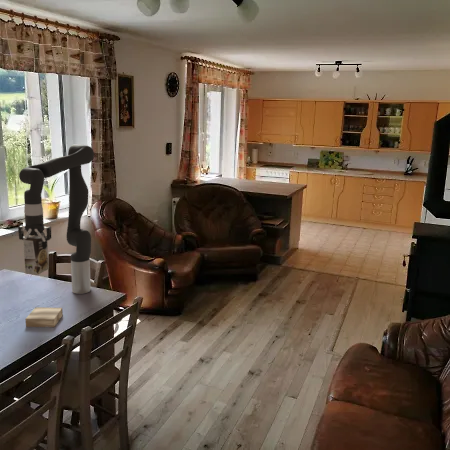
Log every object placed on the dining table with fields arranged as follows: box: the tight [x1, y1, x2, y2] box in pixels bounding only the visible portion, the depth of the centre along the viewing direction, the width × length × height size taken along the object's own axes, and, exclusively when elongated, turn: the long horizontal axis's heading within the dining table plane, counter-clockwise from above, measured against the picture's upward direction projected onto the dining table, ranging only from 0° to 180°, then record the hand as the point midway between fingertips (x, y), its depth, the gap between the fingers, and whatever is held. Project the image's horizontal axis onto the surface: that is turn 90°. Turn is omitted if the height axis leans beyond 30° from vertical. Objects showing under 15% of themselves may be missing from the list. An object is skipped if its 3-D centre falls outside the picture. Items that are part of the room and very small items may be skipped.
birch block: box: [25, 306, 64, 328], centre depth 199 cm, size 12×12×4 cm
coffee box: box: [23, 235, 50, 276], centre depth 203 cm, size 9×6×16 cm
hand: (35, 248), depth 203 cm, fingers closed on coffee box, 7 cm apart
